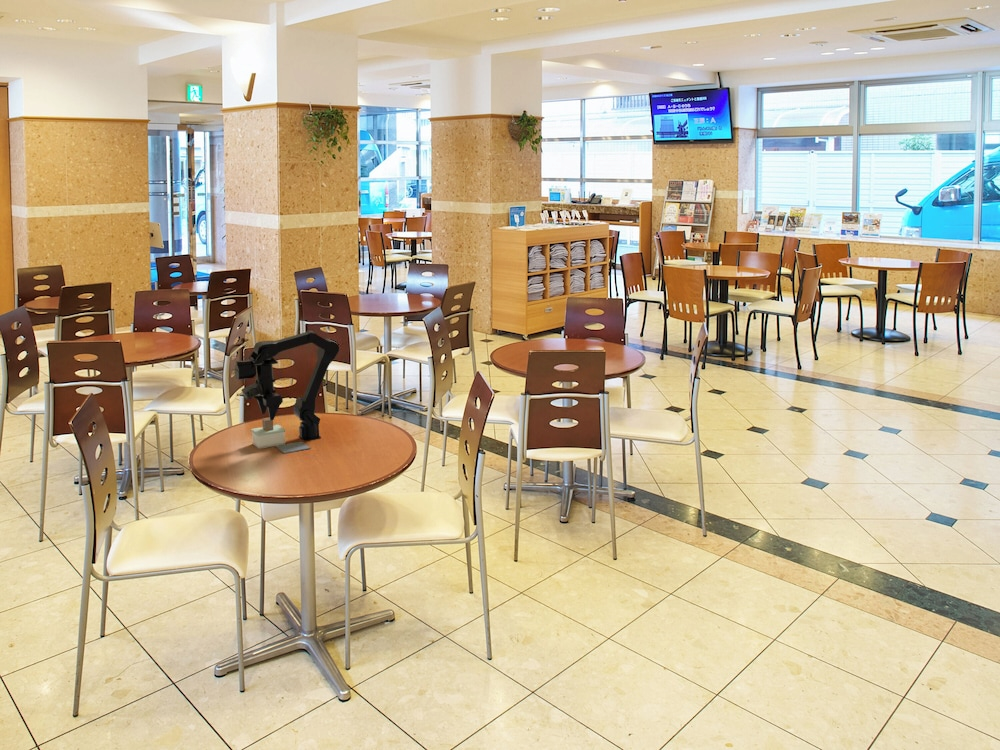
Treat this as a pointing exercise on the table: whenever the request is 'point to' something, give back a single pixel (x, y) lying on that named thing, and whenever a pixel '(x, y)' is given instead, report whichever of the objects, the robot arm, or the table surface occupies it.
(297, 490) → the table surface
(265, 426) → the lid
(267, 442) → the caddy
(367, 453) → the table surface
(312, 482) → the table surface
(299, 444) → the mat
